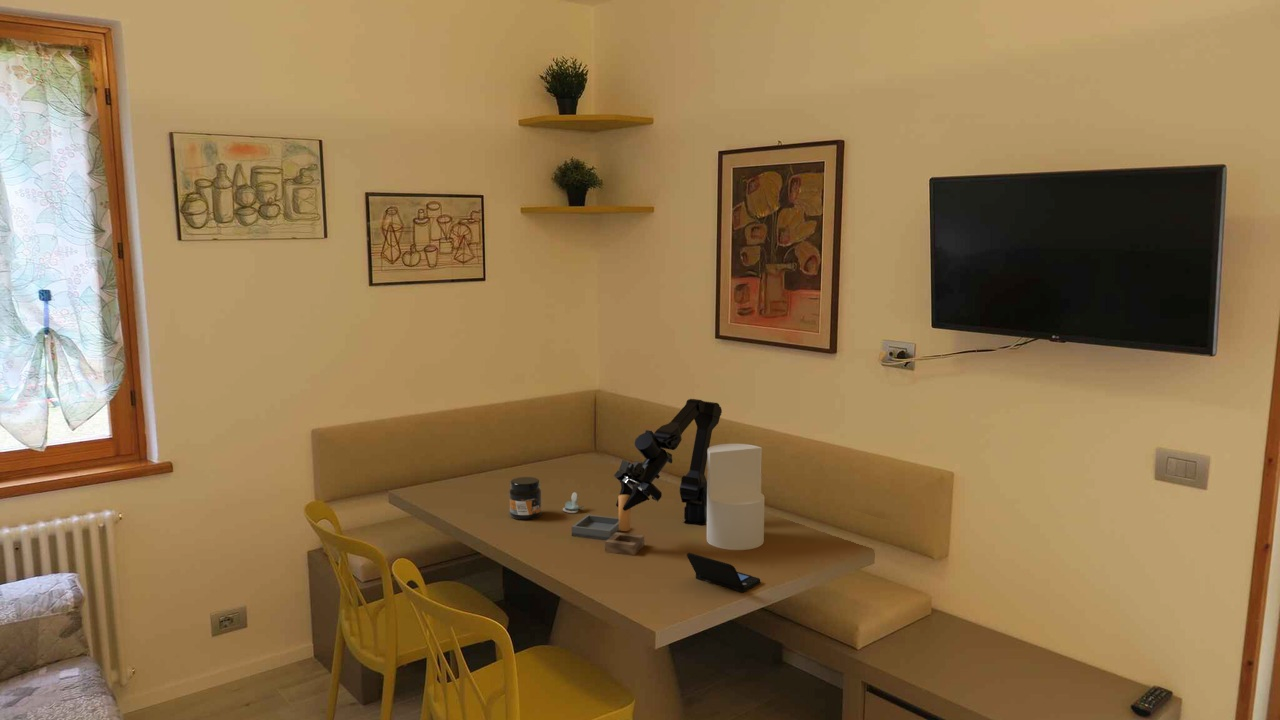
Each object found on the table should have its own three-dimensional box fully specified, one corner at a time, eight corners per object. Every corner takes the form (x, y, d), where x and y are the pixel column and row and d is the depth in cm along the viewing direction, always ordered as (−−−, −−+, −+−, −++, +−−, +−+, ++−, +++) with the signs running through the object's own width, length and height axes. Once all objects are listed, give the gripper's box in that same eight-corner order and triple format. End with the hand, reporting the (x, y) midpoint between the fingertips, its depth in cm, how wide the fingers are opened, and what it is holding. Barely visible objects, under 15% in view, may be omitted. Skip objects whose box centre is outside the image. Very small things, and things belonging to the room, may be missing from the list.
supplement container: (520, 522, 286) (519, 486, 284) (503, 515, 294) (502, 479, 292) (547, 516, 292) (547, 481, 290) (530, 508, 300) (529, 474, 299)
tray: (624, 527, 280) (624, 518, 280) (609, 540, 269) (609, 531, 268) (587, 523, 285) (587, 514, 284) (571, 535, 273) (571, 526, 272)
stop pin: (632, 527, 262) (632, 495, 261) (628, 531, 259) (627, 498, 257) (621, 526, 263) (620, 494, 262) (616, 530, 260) (616, 497, 259)
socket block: (644, 545, 265) (644, 535, 264) (633, 555, 256) (633, 545, 256) (616, 541, 268) (616, 532, 267) (604, 551, 259) (604, 541, 259)
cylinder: (697, 534, 274) (697, 446, 270) (747, 528, 280) (748, 441, 276) (721, 553, 258) (722, 459, 254) (774, 545, 264) (775, 454, 260)
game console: (762, 584, 236) (763, 551, 234) (732, 599, 225) (733, 565, 224) (715, 569, 246) (715, 538, 245) (684, 584, 236) (685, 551, 234)
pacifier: (571, 516, 293) (585, 511, 297) (570, 497, 292) (585, 493, 296) (558, 510, 299) (573, 506, 303) (557, 492, 298) (572, 489, 302)
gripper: (619, 443, 268) (587, 484, 263) (652, 456, 252) (619, 500, 248) (641, 465, 273) (610, 506, 269) (675, 479, 257) (643, 522, 253)
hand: (620, 508), depth 259 cm, fingers closed on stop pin, 3 cm apart
